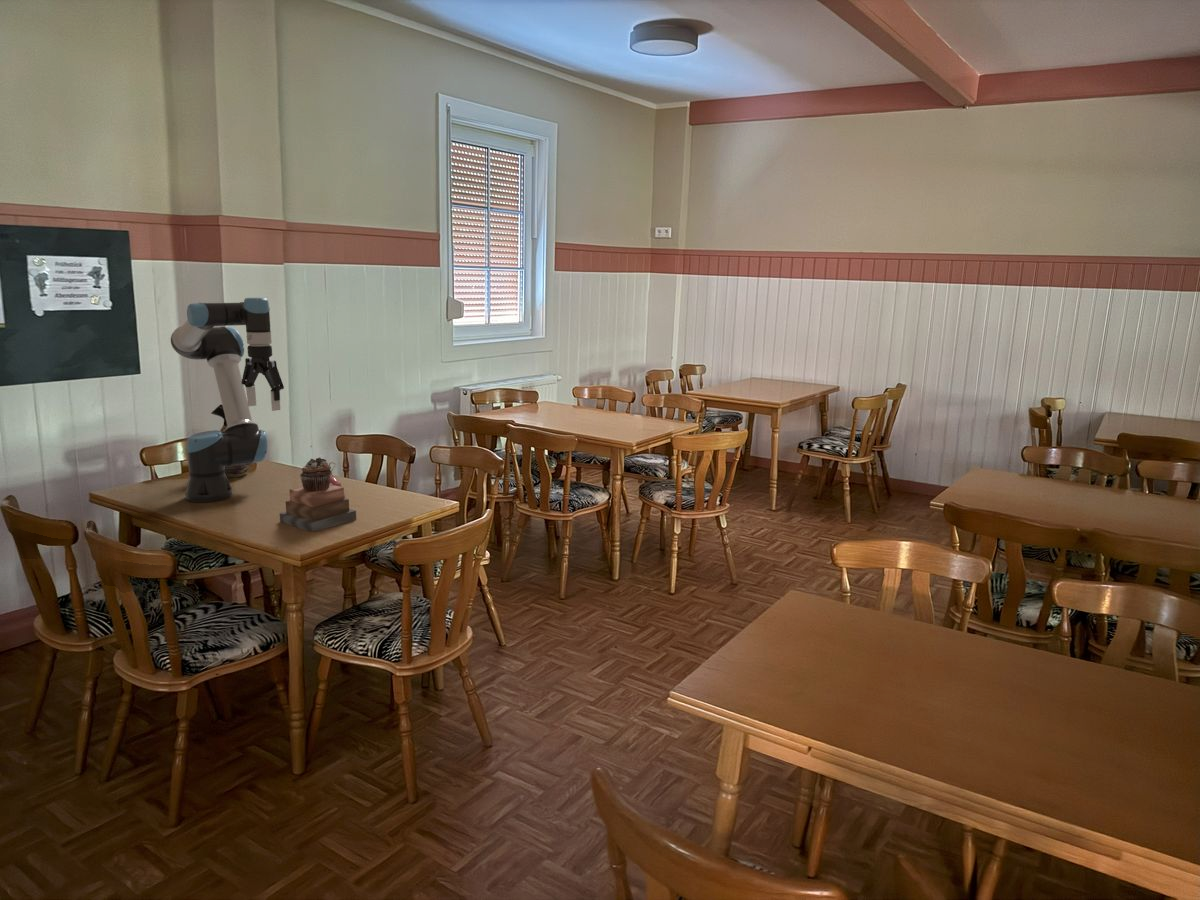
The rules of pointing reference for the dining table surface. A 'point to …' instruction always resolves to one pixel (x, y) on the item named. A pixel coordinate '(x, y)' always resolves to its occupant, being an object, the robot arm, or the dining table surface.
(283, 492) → the dining table surface
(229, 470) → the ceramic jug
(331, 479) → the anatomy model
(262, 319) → the robot arm
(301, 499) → the stepped pyramid block
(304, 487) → the cupcake
